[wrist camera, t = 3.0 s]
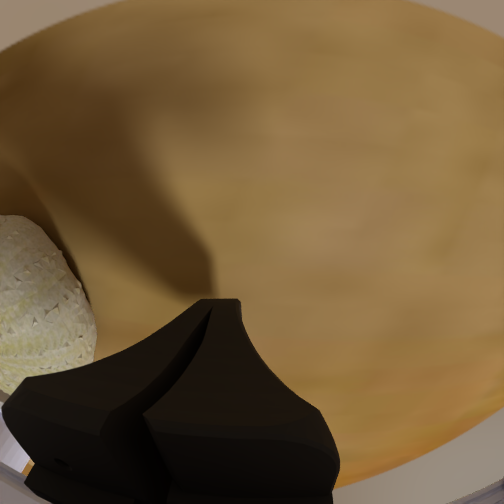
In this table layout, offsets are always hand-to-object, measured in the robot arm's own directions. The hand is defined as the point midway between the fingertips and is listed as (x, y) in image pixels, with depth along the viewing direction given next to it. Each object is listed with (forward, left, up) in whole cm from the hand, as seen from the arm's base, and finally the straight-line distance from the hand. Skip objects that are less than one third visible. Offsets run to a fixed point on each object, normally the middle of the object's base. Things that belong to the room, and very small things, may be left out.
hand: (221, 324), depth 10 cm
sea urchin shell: (-9, +5, -2) cm, 10 cm away
